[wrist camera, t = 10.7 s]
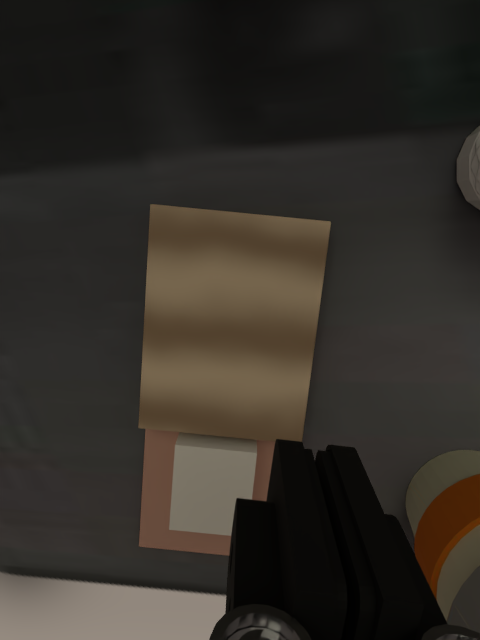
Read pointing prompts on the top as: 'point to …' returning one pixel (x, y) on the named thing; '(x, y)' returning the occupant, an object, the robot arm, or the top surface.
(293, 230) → the oak board
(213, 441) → the cream block
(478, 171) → the white cup
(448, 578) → the reusable coffee cup
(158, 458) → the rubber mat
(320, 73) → the top surface
